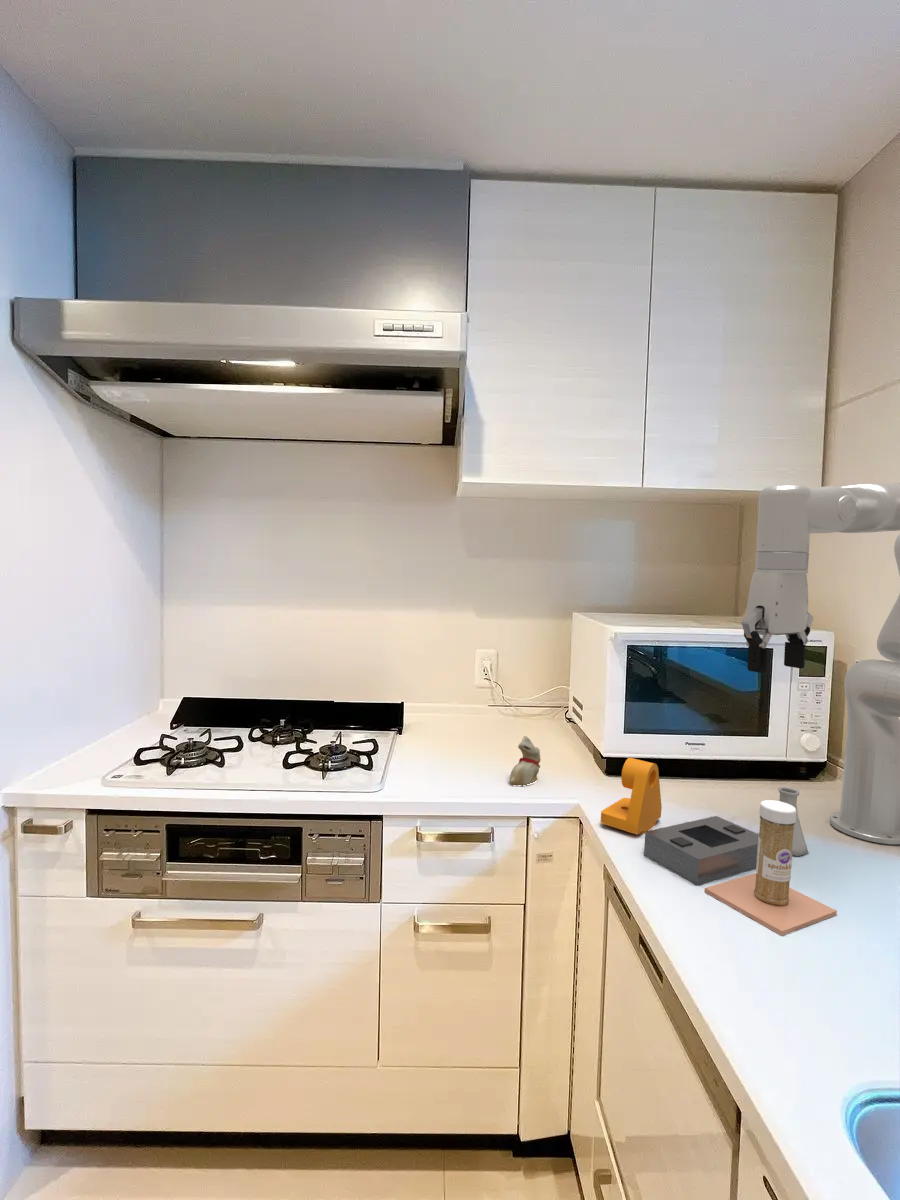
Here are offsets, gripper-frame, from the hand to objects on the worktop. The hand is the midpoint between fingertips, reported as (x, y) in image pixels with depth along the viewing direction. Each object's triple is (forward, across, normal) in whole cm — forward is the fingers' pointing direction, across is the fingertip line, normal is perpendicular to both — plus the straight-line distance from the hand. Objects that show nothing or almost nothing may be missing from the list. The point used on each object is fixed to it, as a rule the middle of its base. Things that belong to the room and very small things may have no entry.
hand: (776, 669), depth 104 cm
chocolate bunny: (+31, +16, -45) cm, 57 cm away
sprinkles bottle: (+30, +14, +10) cm, 35 cm away
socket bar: (+31, +11, -3) cm, 33 cm away
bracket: (+31, +12, -19) cm, 38 cm away
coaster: (+31, +15, +10) cm, 35 cm away
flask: (+32, -6, 0) cm, 32 cm away
